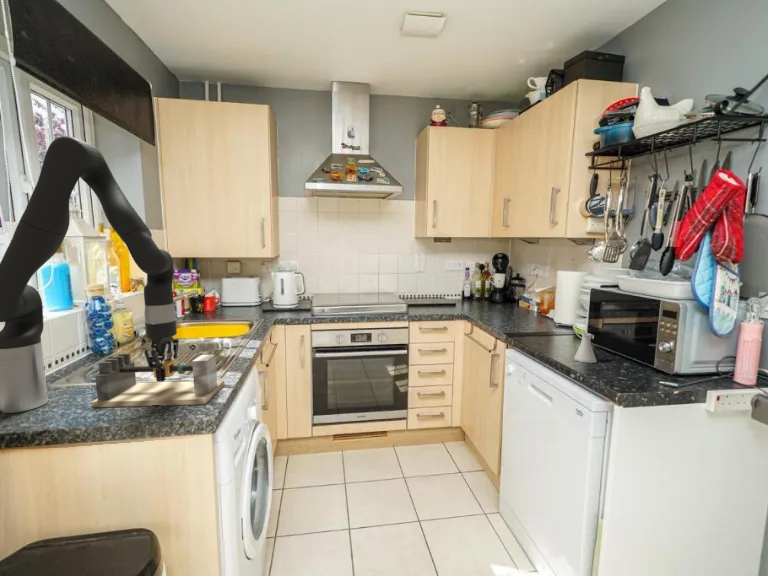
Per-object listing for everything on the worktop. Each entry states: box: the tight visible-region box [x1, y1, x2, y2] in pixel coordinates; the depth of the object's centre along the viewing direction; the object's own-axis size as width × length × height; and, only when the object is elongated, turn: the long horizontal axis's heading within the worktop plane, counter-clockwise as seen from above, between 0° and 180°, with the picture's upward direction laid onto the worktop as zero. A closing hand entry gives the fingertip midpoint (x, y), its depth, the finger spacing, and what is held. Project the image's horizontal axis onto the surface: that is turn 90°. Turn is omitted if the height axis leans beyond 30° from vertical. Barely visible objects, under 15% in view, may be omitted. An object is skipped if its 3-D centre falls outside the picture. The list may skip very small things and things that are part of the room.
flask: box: [573, 332, 597, 364], centre depth 137 cm, size 7×7×10 cm
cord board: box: [91, 353, 225, 408], centre depth 108 cm, size 30×14×12 cm, turn 92°
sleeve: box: [153, 359, 176, 379], centre depth 108 cm, size 4×4×4 cm
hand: (165, 378), depth 108 cm, fingers closed on sleeve, 3 cm apart
